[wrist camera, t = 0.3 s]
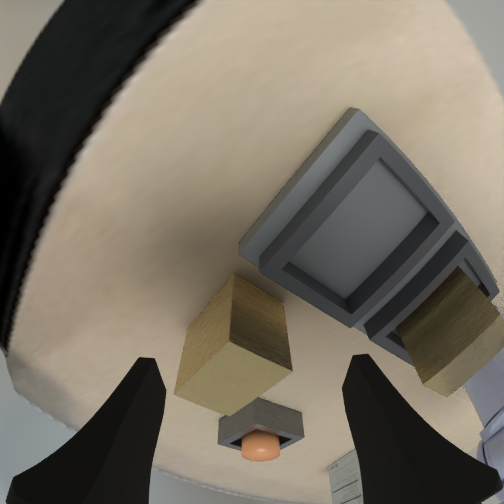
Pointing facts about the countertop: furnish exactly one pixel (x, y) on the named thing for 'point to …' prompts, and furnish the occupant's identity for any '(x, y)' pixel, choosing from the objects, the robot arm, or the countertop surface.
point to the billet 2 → (452, 334)
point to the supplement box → (346, 480)
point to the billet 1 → (234, 349)
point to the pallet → (362, 234)
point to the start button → (260, 446)
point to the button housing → (261, 424)
